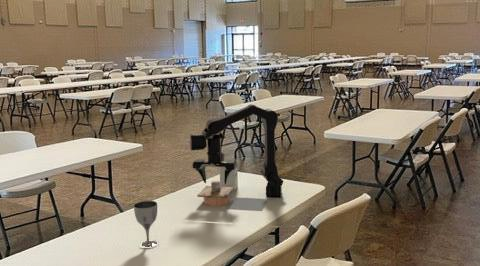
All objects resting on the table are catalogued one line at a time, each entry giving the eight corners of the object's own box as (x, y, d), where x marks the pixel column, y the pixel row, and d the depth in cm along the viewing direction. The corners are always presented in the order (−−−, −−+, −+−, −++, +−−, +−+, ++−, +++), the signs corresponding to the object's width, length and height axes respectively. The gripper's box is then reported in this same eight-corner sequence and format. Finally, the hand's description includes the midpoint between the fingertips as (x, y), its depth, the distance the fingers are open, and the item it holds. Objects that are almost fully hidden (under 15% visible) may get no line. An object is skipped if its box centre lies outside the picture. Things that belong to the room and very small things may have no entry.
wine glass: (138, 240, 168) (135, 201, 165) (160, 239, 168) (158, 199, 166) (135, 250, 160) (132, 209, 157) (158, 248, 161) (156, 207, 158)
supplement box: (235, 191, 219) (234, 166, 217) (219, 191, 221) (218, 165, 218) (238, 187, 226) (237, 161, 224) (223, 186, 228) (222, 161, 225)
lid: (234, 188, 209) (233, 178, 208) (226, 198, 197) (226, 187, 196) (206, 187, 212) (205, 177, 211) (197, 196, 200) (196, 186, 199)
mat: (268, 200, 207) (268, 198, 207) (262, 212, 192) (262, 210, 192) (235, 198, 210) (235, 197, 210) (227, 210, 196) (226, 208, 196)
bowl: (231, 198, 209) (231, 189, 209) (225, 207, 199) (224, 197, 198) (208, 197, 212) (207, 188, 211) (201, 206, 202) (200, 196, 201)
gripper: (239, 145, 206) (240, 179, 209) (199, 144, 210) (200, 177, 214) (233, 151, 196) (234, 186, 199) (191, 149, 200) (192, 184, 203)
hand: (215, 183), depth 204 cm, fingers open, 9 cm apart
